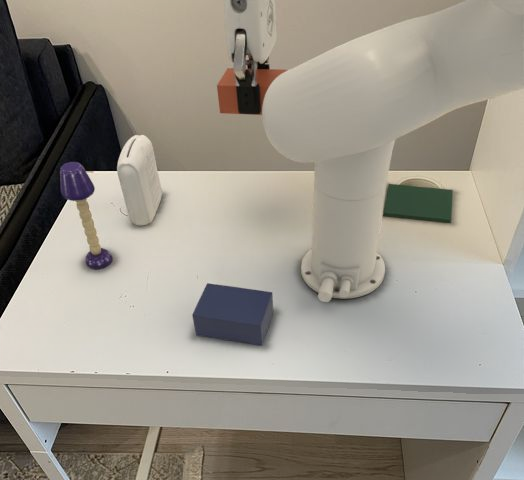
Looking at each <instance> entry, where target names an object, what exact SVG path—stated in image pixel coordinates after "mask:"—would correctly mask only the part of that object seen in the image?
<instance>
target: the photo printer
mask: <svg viewBox="0 0 524 480" xmlns="http://www.w3.org/2000/svg"><path fill="white" fill-rule="evenodd" d="M154 151H155V150H154V147H153V144H152V141H151V140H150V139H149V138H148V137H147V136H146V135H144V134H141V135H139V134H134V135H133V136H131V137H130V138H129V139H128V140H127V141H126V142H125V144H124V145H123V147H122V149H121V151H120V154H119V157H118V160H117V166H116V173H117V177H118V181H119V184H120V189H121V192H122V196H123V200H124V203H125V207H126V210H127V211H126V212H127V214H128V219H129V220H130V223H133V225H136V226H146V225H149V224H151V223H152V222H153V220H154V218H155V216H156V214H157V211H158V208H159V206H160V203H161V201H162V198H163V190H162V185H161V181H160V176H159V171H158V167H157V162H156V156H155V152H154Z"/></svg>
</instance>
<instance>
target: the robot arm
mask: <svg viewBox="0 0 524 480" xmlns="http://www.w3.org/2000/svg"><path fill="white" fill-rule="evenodd" d="M223 12H224V25H225V26H224V29H225V39H226V47H227V48H226V49H227V55H228V59H229V61H231V63H232V65H233V67H232V68H233V70H234V73H235V83H236V91H237V103H238V112H239V113H240V114H239V115H249V114H260V112H261V102H260V85H259V84H257V69H271V68H270V55H271V53H272V52H273V49H274V47H275V45H276V42H277V39H278V29H277V28H278V27H277V15H276V14H277V13H276V0H223ZM247 57H248V59H247ZM246 69H251V73H250V71H249V70H246ZM287 70H288V71H286V72H284V73H282V74H280V75H279V76H278V77H277V78H276V79H275V80H274V81H273V82H272V83H271V85H270V86H269V88H268V90H267V92H266V94H265V97H264V101H263V106H262V115H261V120H262V127H263V130H264V133H265V135H266V138H267V139H268V141H269V143H270V144H271V146H272V147H273V148H274V150H276V151H277V152H278V153H279V154H280V155H281V156H283V157H285V158H287V159H288V160H290V161H292V162H296V163H301V164H302V163H303V164H307V163H308V164H310V163H314V169H313V190H312V191H313V194H312V195H313V196H312V197H313V200H312V230H311V231H312V232H311V248H310V249H309V250H307V252H306V253H305V254H304V256H303V257H302V260H301V263H300V274H301V277H302V279H303V281H304V282H305V284H306V285H307V286H308V287H309V288H310V289H312V291H315V292H316V293H318V294H317V299H318V300H319V301H320V302H322V303H329V302H330V301H331V300H332V298H333V299H345V300H346V299H355V298H359V297H363V296H366V295H368V294H370V293H372V292H374V291H375V290H376V289H378V288H379V287H380V286H381V284H382V283H383V280H384V279H385V274H386V264H385V261H384V259H383V257H382V256H381V255H380V253H378V250H379V242H380V235H381V228H382V222H383V221H382V220H383V213H384V207H385V201H386V194H387V187H388V186H387V185H388V178H389V173H390V167H391V160H392V157H393V156H392V155H393V149H394V147H395V143H396V140H397V139H399V138H402V137H403V136H405V135H407V134H409V133H412V132H414V131H415V130H418V129H419V128H422V127H424V126H426V125H428V124H429V123H432V122H433V121H436V120H437V119H439V118H441V117H442V116H445V115H446V114H448V113H450V112H452V111H455V110H457V109H460V108H463V107H466V106H469V105H473V104H476V103H481V102H484V101H488V100H491V99H495V98H497V97H501V96H503V95H507V94H510V93H514V92H516V91H520V90H524V0H463V1H460V2H458V3H456V4H454V5H451V6H449V7H447V8H444V9H441V10H438V11H436V12H433V13H429V14H425V15H422V16H418V17H413V18H409V19H405V20H402V21H400V22H396V23H393V24H390V25H388V26H385V27H383V28H380V29H377V30H375V31H372V32H369V33H367V34H363V35H361V36H358V37H356V38H354V39H351V40H349V41H347V42H345V43H342V44H340V45H338V46H335V47H333V48H331V49H329V50H327V51H325V52H323V53H321V54H319V55H316V56H315V57H313V58H311V59H309V60H307V61H304V62H302V63H301V64H298V65H296V66H294V67H292V68H289V69H287Z"/></svg>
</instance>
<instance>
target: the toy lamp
mask: <svg viewBox="0 0 524 480" xmlns="http://www.w3.org/2000/svg"><path fill="white" fill-rule="evenodd" d="M59 174H60V175H59V176H60V194H61V196H62V197H63V199H65V200H68V201H71V202H75V204H76V209H77V211H78V215H79V218H80V219H81V225H82V228H83V230H84V235H85V237H86V242H87V244H88V248H89V251H88V252H87V254H86V255H85V265H86V267H88V268H89V269H92V270H101V269H104V268H107V267H108V266H110V265H111V263H113V260H114V259H113V255H112V254H111V252H110V251H109V250H108V249H106V248H104V247H101V245H100V241H99V237H98V235H97V234H98V233H97V228H96V227H95V221H94V219H93V215H92V212H91V210H90V204H89V202H88V201H87V200H88V198H91V196H93V195H94V193H95V190H96V188H95V184H94V183H93V181H92V179H91V178H90V176H89V174H88V173H87V170H86V169H85V168H84V165H82V164H81V163H80V162H77V161H70V162H69V161H68V162H66V163H64V164H63V165H62V166H61V167H60V172H59Z"/></svg>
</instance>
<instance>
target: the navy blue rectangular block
mask: <svg viewBox="0 0 524 480" xmlns="http://www.w3.org/2000/svg"><path fill="white" fill-rule="evenodd" d="M273 295H274V294H273V291H267V290H260V289H253V288H246V287H245V288H244V287H239V286H232V285H231V286H230V285H224V284H217V283H211V282H210V283H208V282H207V283H206V285H205V287H204V288H203V291H202V294H201V295H200V297H199V300H198V302H197V304H196V306H195V307H194V310H193V313H192V315H191V316H192V321H193V325H194V331H195V335H196V336H199V337H206V338H212V339H220V340H224V341H231V342H236V343H243V344H249V345H257V346H263V344H264V341H265V338H266V335H267V332H268V330H269V328H270V327H269V326H270V323H271V320H272V318H273V315H274V299H273Z"/></svg>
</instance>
